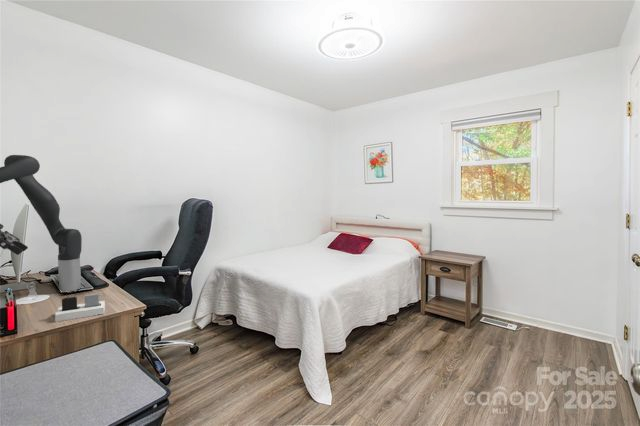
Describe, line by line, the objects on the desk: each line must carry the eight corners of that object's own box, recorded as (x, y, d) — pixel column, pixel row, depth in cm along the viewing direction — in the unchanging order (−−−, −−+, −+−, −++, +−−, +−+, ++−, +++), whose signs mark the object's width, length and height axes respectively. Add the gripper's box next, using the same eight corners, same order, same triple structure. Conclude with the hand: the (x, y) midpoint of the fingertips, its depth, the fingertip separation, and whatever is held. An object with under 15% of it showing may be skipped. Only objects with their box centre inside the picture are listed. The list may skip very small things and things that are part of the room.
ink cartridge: (77, 313, 140) (77, 296, 139) (76, 315, 138) (76, 297, 137) (63, 315, 137) (62, 297, 137) (62, 317, 135) (61, 299, 135)
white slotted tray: (59, 313, 140) (58, 295, 139) (105, 306, 148) (104, 290, 148) (55, 321, 131) (54, 303, 130) (103, 314, 140) (103, 296, 139)
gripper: (-15, 220, 121) (27, 247, 128) (-3, 216, 133) (35, 241, 140) (-34, 234, 118) (10, 261, 125) (-20, 230, 130) (19, 254, 137)
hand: (23, 251), depth 132 cm, fingers open, 8 cm apart
